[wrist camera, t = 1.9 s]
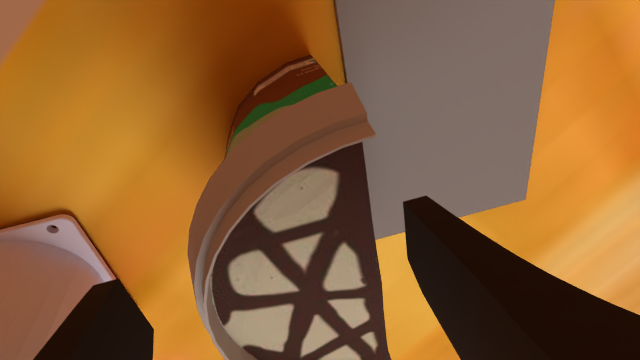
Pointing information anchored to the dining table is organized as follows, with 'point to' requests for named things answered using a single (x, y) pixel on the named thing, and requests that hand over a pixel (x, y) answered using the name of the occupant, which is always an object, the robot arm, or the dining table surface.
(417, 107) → the mat
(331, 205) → the food container
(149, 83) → the dining table surface
